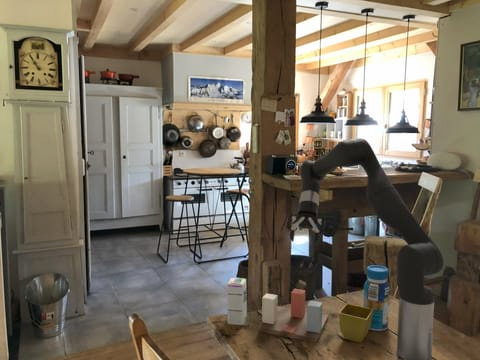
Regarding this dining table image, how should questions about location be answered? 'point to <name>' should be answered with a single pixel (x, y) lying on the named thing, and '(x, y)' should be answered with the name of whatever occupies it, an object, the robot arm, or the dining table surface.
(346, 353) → the dining table surface
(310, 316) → the grey rectangular block
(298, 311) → the red rectangular block
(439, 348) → the dining table surface
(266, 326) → the brown wooden board
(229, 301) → the syrup box
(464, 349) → the dining table surface
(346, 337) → the flower pot
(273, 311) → the cream rectangular block
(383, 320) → the beverage bottle
